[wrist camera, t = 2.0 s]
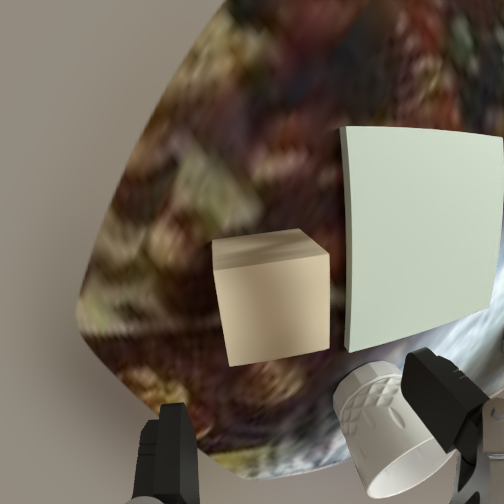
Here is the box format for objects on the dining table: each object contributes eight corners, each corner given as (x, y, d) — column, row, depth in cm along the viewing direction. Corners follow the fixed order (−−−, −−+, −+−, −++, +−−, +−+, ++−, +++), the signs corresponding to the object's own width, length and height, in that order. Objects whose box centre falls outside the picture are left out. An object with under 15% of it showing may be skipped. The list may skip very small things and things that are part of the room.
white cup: (347, 351, 23) (407, 439, 14) (416, 356, 25) (477, 423, 15) (312, 419, 25) (347, 506, 16) (379, 417, 27) (422, 487, 17)
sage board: (494, 137, 20) (502, 137, 19) (482, 303, 25) (488, 307, 24) (339, 127, 18) (346, 126, 17) (344, 345, 23) (348, 352, 22)
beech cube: (298, 228, 20) (329, 253, 15) (302, 305, 22) (329, 348, 16) (211, 239, 19) (213, 270, 14) (223, 317, 21) (229, 366, 16)
